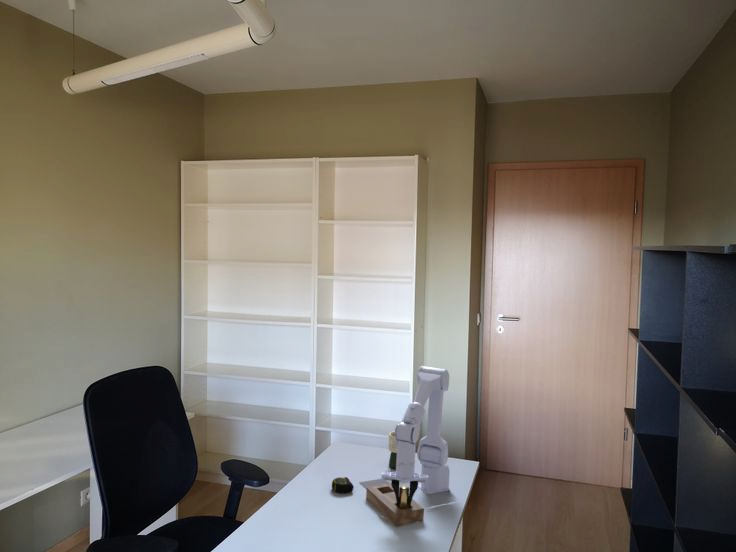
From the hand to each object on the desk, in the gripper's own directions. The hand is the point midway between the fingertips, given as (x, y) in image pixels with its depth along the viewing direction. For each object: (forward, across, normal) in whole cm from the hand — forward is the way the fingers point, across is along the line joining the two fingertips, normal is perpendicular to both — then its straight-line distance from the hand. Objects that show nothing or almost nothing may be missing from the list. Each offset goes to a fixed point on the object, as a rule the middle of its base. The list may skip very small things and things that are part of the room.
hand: (403, 503), depth 181 cm
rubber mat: (+5, -9, +21) cm, 24 cm away
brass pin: (+3, 0, 0) cm, 3 cm away
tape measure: (+5, -21, +17) cm, 27 cm away
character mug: (+5, -2, +40) cm, 41 cm away
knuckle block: (+5, -3, +5) cm, 8 cm away
